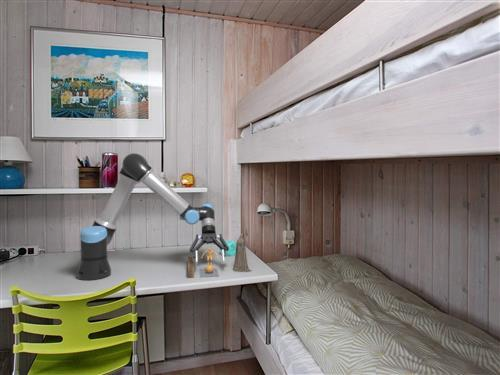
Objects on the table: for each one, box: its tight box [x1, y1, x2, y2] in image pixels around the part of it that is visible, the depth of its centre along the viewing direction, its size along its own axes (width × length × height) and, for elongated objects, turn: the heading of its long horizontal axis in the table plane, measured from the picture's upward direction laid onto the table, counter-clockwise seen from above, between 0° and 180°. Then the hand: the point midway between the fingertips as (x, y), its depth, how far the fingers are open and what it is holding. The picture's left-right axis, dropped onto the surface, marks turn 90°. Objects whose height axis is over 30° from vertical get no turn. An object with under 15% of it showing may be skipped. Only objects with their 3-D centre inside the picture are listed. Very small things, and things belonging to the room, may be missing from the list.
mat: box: [199, 268, 220, 278], centre depth 166 cm, size 9×12×1 cm
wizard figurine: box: [232, 222, 252, 273], centre depth 171 cm, size 10×8×25 cm
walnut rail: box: [187, 255, 195, 279], centre depth 172 cm, size 3×28×4 cm, turn 11°
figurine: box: [201, 248, 219, 273], centre depth 166 cm, size 8×6×12 cm
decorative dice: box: [219, 240, 237, 257], centre depth 203 cm, size 8×8×8 cm
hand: (210, 262), depth 166 cm, fingers open, 13 cm apart
